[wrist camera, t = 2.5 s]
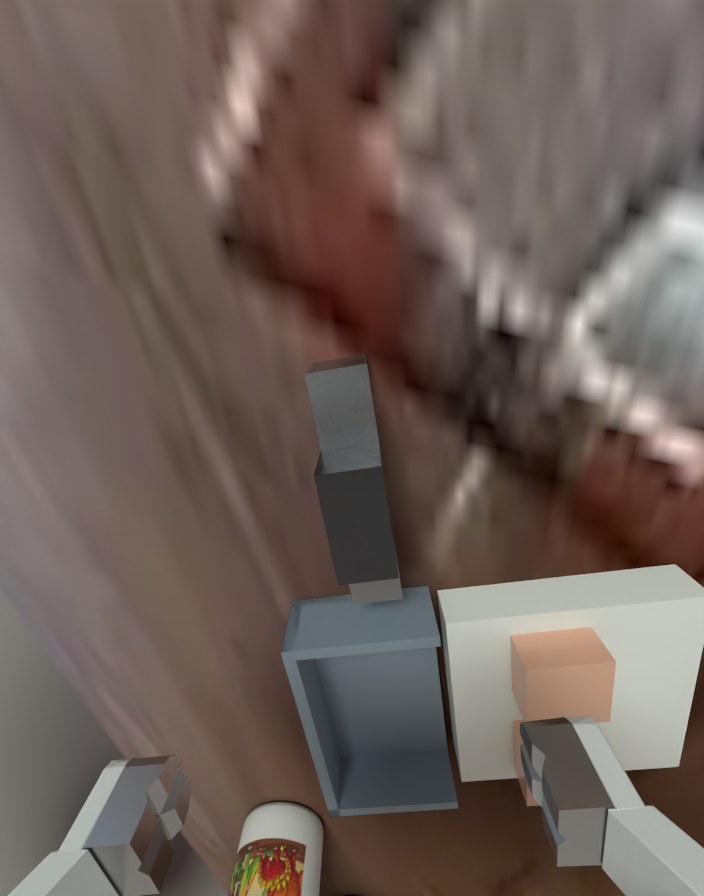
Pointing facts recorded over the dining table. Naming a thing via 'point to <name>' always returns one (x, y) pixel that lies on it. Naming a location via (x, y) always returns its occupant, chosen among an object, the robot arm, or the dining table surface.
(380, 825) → the dining table surface
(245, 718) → the dining table surface
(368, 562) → the two-tone stepped block
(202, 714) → the dining table surface
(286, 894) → the milk bottle
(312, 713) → the tray
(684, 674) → the board
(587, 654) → the tile front
